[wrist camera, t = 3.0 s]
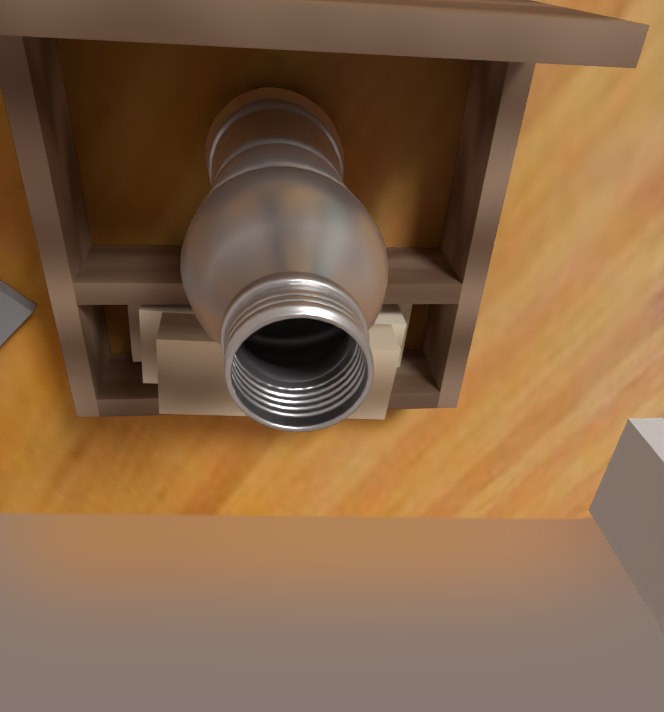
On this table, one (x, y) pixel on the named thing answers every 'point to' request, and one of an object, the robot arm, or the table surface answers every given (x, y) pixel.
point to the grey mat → (12, 310)
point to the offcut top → (206, 376)
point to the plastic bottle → (285, 263)
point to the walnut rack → (302, 33)
